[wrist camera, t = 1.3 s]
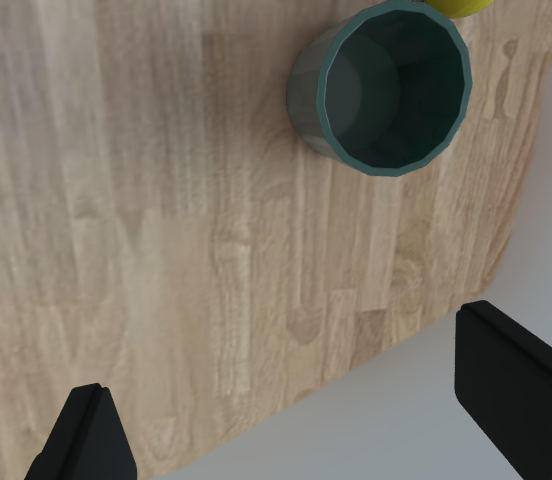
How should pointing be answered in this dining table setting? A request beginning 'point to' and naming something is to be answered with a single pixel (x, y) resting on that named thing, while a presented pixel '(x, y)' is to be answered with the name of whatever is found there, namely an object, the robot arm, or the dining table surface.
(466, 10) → the lemon
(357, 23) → the pot
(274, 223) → the dining table surface
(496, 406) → the robot arm
